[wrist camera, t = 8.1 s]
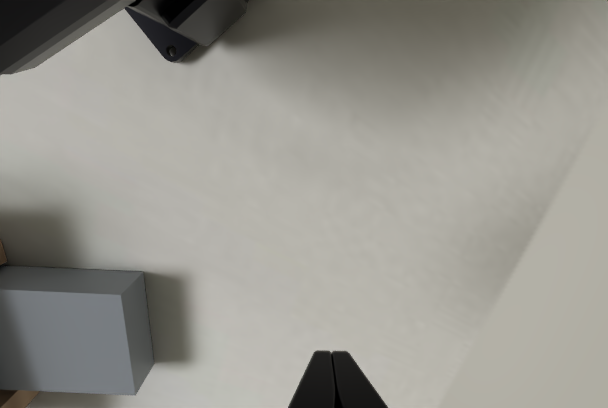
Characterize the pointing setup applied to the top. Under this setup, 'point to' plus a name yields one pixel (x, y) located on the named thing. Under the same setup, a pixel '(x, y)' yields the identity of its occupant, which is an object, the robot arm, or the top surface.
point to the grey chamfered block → (73, 330)
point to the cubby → (11, 403)
